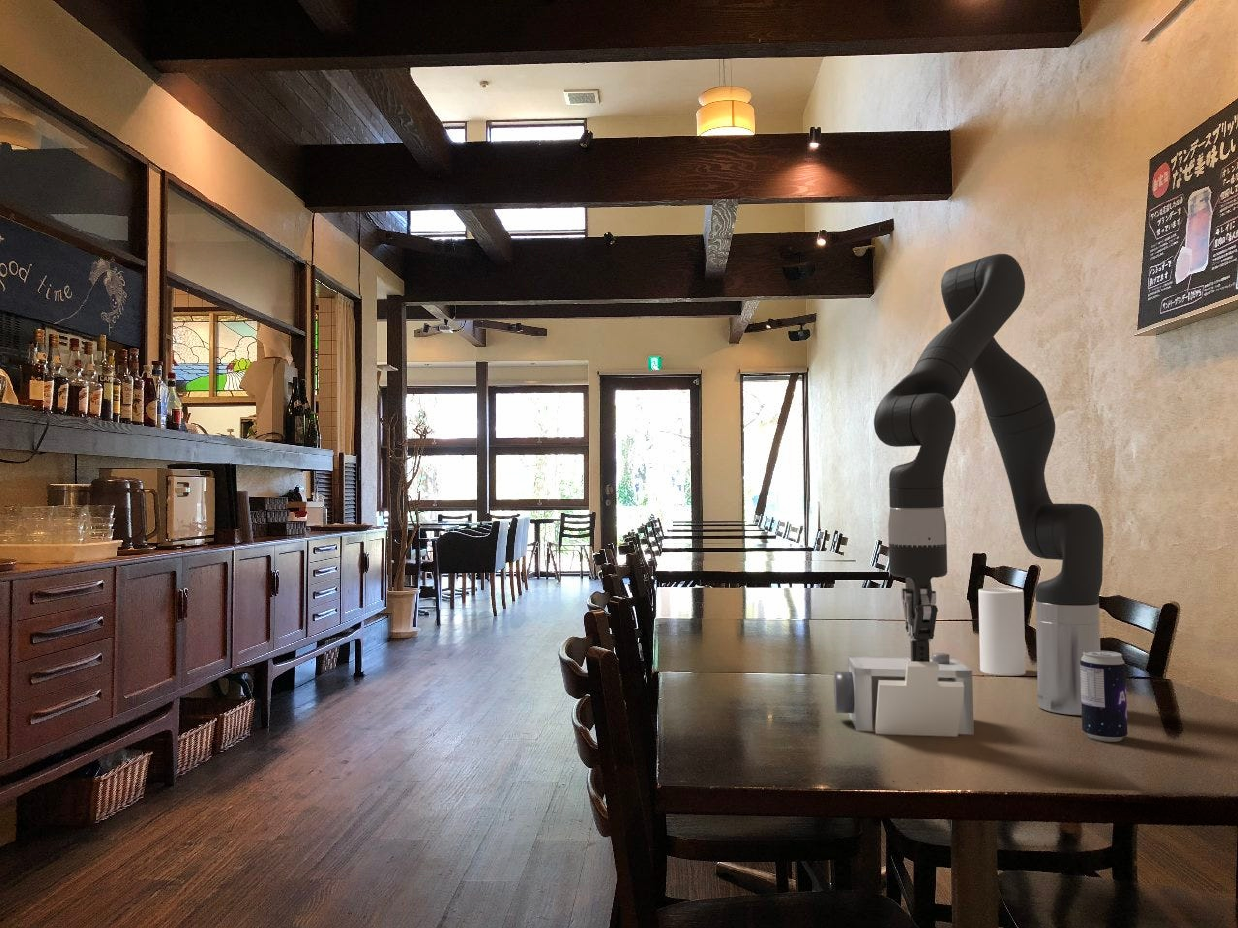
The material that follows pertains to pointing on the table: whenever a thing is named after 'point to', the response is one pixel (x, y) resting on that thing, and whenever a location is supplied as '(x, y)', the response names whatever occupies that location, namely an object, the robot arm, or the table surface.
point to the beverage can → (1103, 695)
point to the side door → (919, 703)
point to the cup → (1002, 631)
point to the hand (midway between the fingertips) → (920, 667)
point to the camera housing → (864, 673)
